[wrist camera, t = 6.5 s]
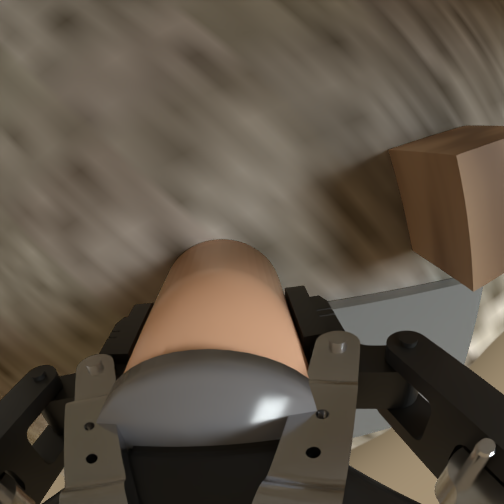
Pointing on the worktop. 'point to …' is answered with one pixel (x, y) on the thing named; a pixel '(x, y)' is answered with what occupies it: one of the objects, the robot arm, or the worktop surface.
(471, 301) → the coaster
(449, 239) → the block
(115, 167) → the worktop surface
